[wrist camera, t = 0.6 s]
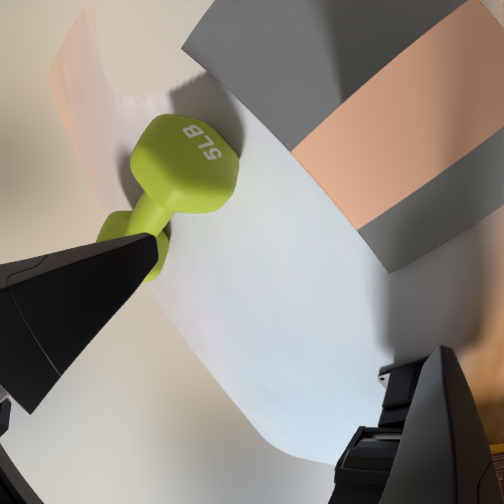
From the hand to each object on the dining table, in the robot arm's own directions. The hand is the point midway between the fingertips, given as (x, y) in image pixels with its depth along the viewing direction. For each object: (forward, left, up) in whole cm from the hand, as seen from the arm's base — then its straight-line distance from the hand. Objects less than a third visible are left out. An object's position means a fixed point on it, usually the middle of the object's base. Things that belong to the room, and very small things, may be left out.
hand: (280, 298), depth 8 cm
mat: (+4, -6, -13) cm, 15 cm away
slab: (+1, -6, -12) cm, 13 cm away
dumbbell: (+8, +13, -13) cm, 20 cm away
